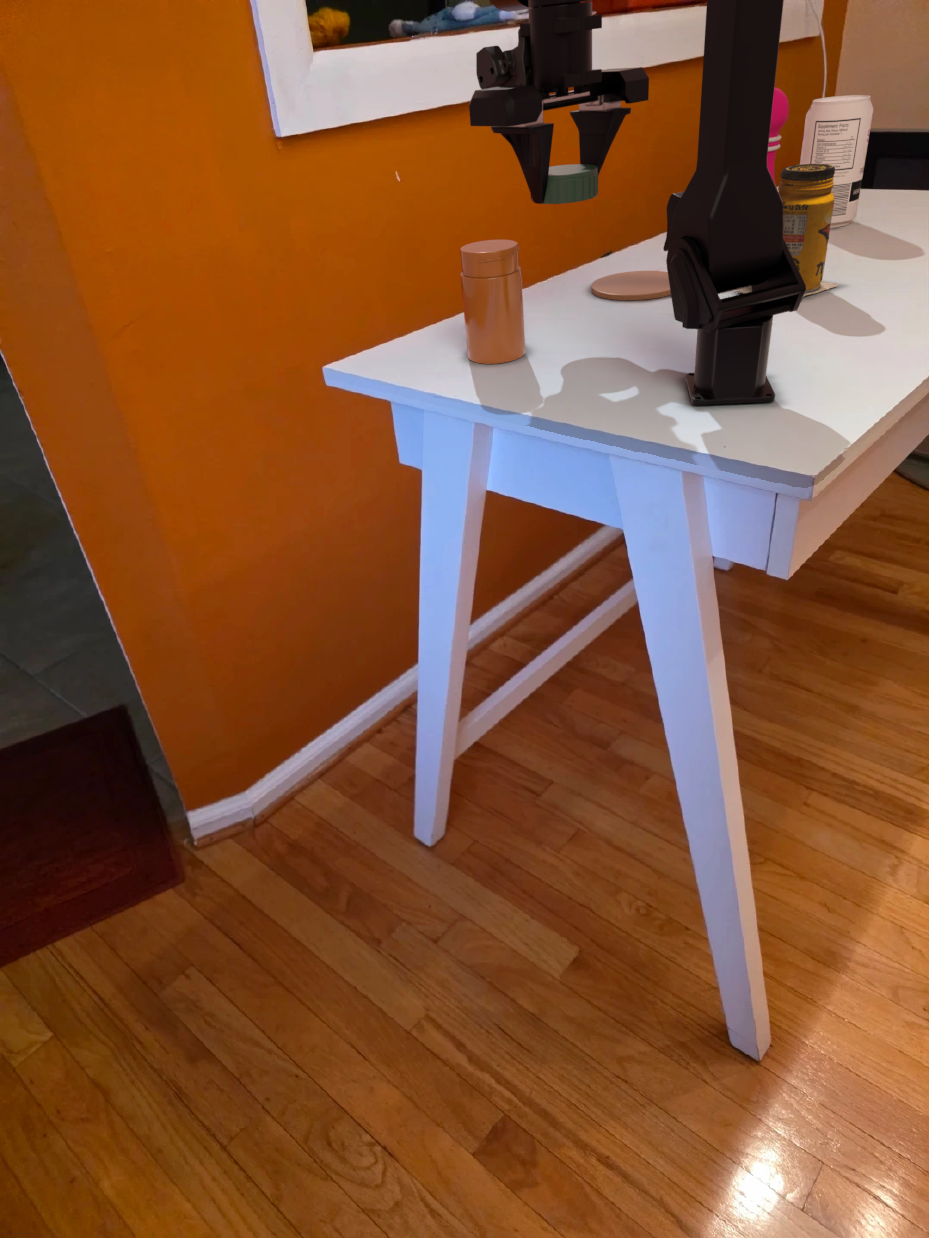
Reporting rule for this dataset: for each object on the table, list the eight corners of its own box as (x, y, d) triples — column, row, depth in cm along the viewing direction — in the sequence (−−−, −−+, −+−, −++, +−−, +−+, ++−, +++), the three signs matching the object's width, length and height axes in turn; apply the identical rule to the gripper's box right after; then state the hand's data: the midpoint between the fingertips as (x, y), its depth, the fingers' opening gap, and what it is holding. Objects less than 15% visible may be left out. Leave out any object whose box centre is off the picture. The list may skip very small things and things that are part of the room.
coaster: (689, 297, 93) (689, 291, 92) (590, 303, 94) (590, 297, 94) (680, 273, 102) (681, 268, 101) (591, 279, 103) (591, 274, 103)
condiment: (838, 286, 91) (858, 163, 84) (787, 303, 87) (803, 177, 80) (784, 276, 96) (798, 160, 89) (733, 292, 92) (744, 173, 85)
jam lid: (589, 188, 86) (589, 161, 84) (605, 199, 80) (605, 170, 79) (525, 196, 85) (524, 169, 84) (537, 207, 80) (536, 178, 79)
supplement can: (780, 224, 118) (794, 102, 109) (824, 214, 120) (841, 94, 112) (822, 232, 112) (841, 103, 103) (868, 221, 114) (890, 94, 106)
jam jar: (527, 360, 80) (521, 249, 74) (468, 366, 80) (458, 256, 75) (523, 342, 85) (517, 236, 79) (467, 348, 85) (457, 243, 79)
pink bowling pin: (789, 259, 102) (814, 66, 90) (740, 269, 100) (759, 74, 89) (752, 250, 107) (770, 67, 96) (705, 259, 106) (718, 74, 94)
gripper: (570, 5, 84) (572, 177, 93) (424, 21, 75) (442, 208, 84) (655, -5, 76) (649, 182, 85) (504, 10, 67) (515, 218, 77)
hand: (563, 197), depth 83 cm, fingers closed on jam lid, 6 cm apart
